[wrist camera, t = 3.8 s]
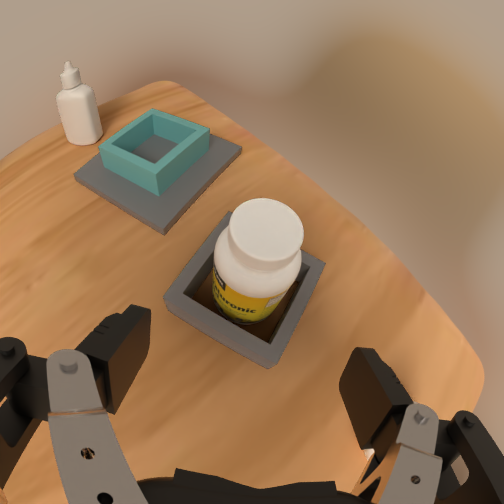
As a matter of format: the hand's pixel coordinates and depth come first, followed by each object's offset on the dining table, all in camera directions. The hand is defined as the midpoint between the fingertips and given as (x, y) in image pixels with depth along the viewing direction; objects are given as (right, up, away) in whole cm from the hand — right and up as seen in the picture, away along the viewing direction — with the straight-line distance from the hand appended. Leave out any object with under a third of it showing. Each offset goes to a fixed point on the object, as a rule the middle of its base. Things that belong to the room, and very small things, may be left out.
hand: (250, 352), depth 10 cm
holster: (-1, 0, +13) cm, 13 cm away
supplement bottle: (-1, 0, +13) cm, 13 cm away
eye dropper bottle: (-23, +19, +20) cm, 36 cm away
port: (-11, +14, +19) cm, 26 cm away
